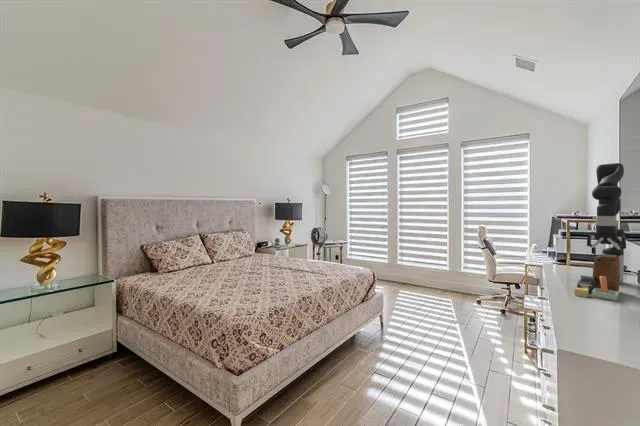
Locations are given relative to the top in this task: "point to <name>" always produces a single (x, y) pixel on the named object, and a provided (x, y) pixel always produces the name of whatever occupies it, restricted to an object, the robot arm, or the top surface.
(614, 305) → the top surface
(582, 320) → the top surface
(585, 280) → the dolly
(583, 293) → the block
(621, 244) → the robot arm
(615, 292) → the tray
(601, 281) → the pin
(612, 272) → the brown rounded block
